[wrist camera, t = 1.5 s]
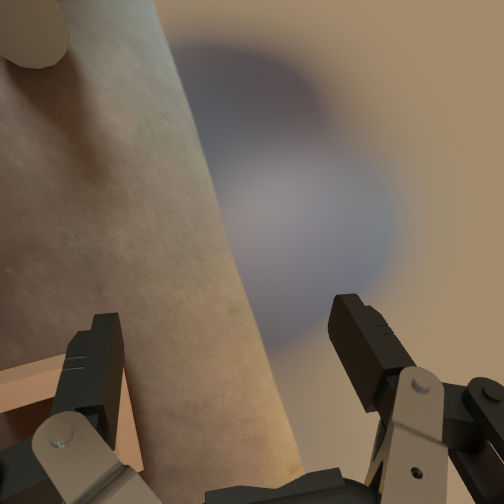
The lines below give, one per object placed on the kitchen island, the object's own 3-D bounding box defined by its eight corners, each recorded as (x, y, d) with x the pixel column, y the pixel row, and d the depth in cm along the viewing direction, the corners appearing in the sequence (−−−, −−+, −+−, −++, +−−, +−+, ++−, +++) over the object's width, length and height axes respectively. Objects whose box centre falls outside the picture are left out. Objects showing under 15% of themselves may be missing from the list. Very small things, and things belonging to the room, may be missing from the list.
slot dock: (19, 492, 31) (11, 525, 27) (-9, 373, 30) (-21, 390, 26) (137, 446, 35) (143, 469, 31) (115, 340, 34) (120, 351, 30)
